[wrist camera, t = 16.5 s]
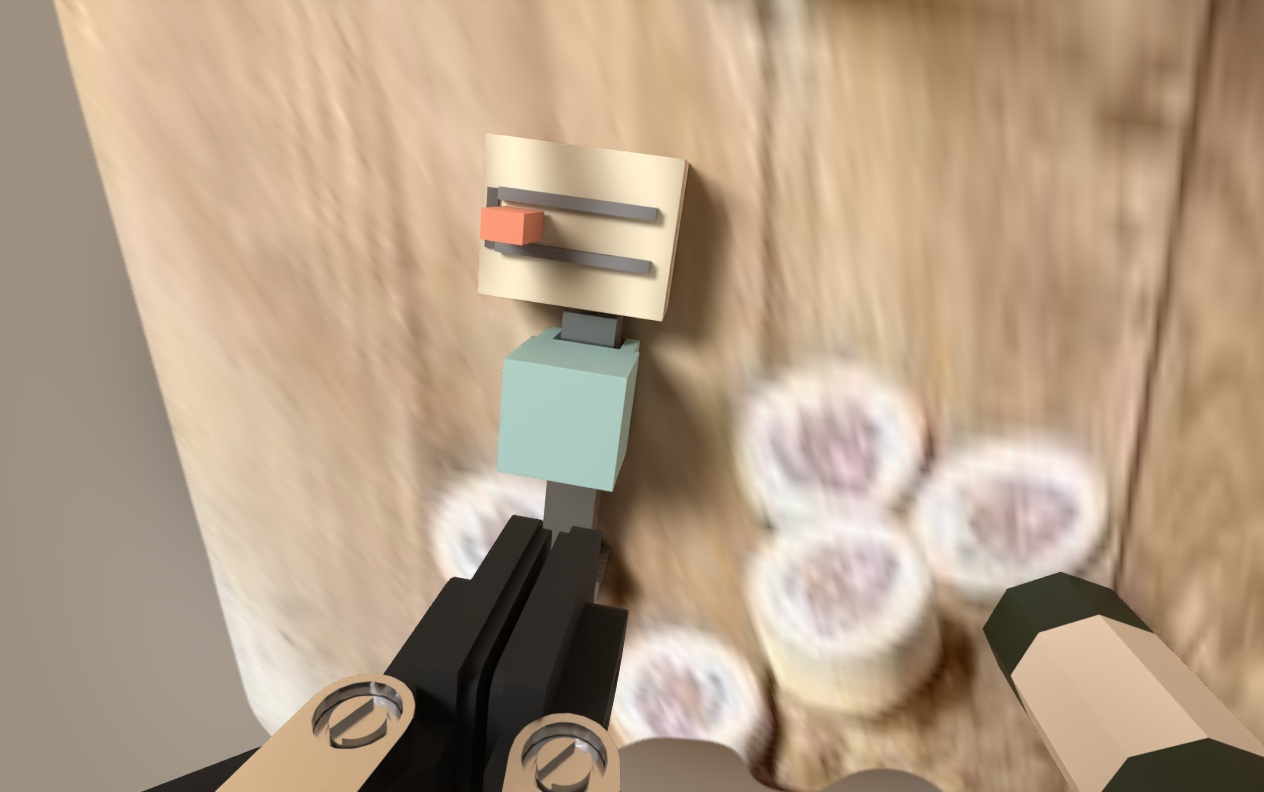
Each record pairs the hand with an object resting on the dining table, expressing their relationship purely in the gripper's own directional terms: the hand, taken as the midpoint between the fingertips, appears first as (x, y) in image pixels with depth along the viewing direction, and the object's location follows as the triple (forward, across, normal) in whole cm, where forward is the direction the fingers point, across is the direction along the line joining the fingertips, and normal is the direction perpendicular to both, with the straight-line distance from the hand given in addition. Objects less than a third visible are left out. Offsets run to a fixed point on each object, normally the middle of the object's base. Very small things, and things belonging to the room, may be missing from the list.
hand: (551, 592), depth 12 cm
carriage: (+27, +4, +4) cm, 28 cm away
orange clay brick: (+23, +8, -5) cm, 24 cm away
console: (+27, +5, -4) cm, 28 cm away
